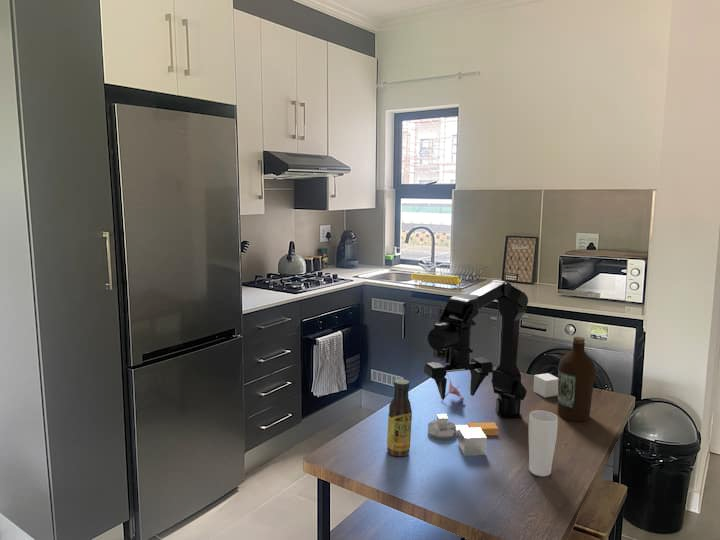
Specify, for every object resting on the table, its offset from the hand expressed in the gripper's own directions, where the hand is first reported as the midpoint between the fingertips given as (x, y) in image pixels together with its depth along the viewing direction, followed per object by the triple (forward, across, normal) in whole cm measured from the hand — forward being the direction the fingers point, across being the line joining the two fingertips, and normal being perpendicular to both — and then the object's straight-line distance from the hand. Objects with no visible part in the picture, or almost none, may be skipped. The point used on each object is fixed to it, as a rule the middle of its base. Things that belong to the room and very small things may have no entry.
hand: (457, 397), depth 148 cm
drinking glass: (+13, -12, +21) cm, 28 cm away
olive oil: (+13, -43, -4) cm, 45 cm away
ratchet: (+13, -4, -3) cm, 14 cm away
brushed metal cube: (+13, -2, +6) cm, 14 cm away
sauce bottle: (+13, +18, +1) cm, 22 cm away
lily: (+13, -12, -24) cm, 30 cm away
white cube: (+13, -47, -21) cm, 53 cm away
